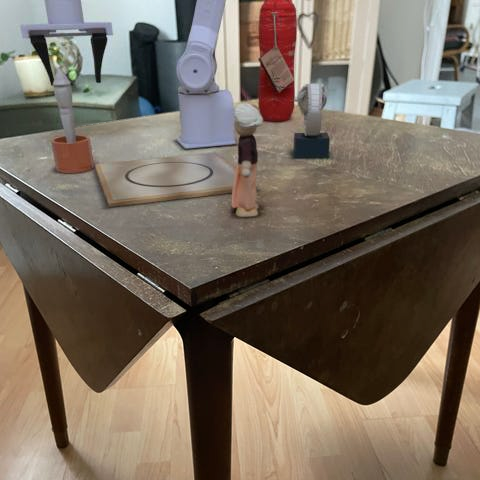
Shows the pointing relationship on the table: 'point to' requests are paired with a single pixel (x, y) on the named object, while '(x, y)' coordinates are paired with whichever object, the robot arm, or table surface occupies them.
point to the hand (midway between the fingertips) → (76, 83)
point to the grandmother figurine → (246, 161)
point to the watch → (311, 123)
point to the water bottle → (277, 59)
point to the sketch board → (165, 178)
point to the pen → (65, 104)
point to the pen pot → (72, 154)
